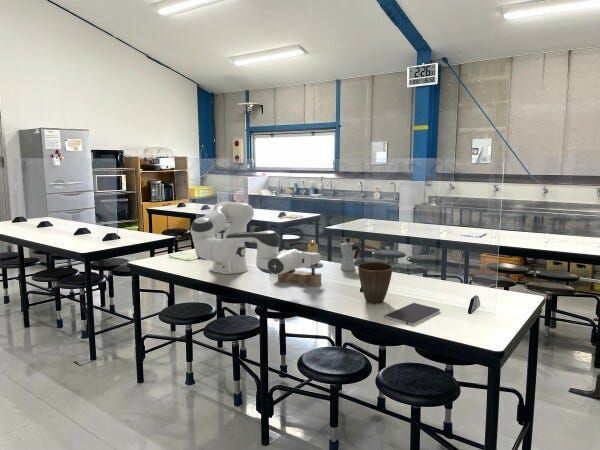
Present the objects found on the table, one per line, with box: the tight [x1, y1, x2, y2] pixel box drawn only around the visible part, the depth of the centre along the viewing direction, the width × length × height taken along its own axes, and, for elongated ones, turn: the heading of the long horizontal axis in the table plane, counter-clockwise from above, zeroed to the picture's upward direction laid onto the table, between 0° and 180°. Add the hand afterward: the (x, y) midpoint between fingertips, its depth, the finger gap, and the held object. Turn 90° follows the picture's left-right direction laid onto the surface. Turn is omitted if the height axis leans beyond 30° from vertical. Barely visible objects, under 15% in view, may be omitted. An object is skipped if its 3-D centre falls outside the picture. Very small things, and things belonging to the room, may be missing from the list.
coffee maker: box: [339, 237, 361, 272], centre depth 256 cm, size 15×9×18 cm, turn 42°
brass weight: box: [307, 239, 319, 266], centre depth 227 cm, size 5×5×12 cm
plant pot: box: [357, 261, 394, 305], centre depth 200 cm, size 15×15×16 cm
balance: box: [277, 262, 324, 287], centre depth 233 cm, size 26×10×10 cm, turn 61°
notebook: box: [384, 302, 441, 326], centre depth 184 cm, size 13×2×21 cm
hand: (307, 253), depth 221 cm, fingers open, 8 cm apart
